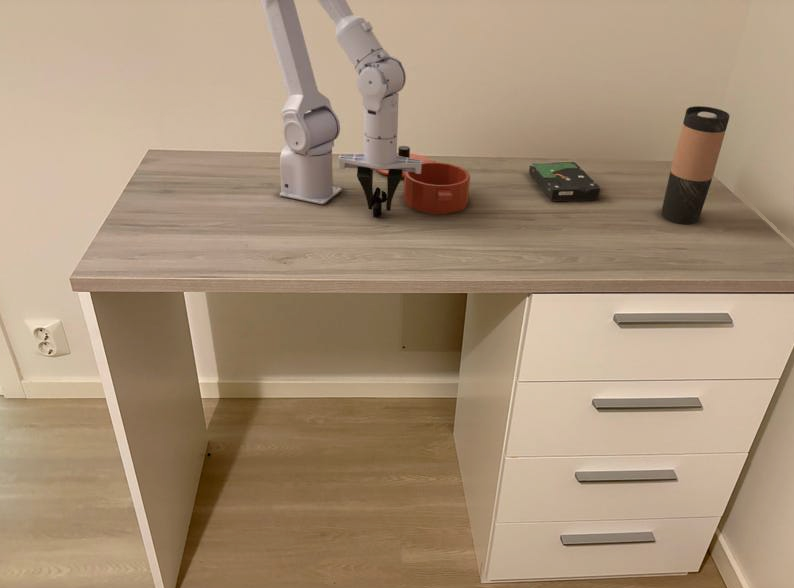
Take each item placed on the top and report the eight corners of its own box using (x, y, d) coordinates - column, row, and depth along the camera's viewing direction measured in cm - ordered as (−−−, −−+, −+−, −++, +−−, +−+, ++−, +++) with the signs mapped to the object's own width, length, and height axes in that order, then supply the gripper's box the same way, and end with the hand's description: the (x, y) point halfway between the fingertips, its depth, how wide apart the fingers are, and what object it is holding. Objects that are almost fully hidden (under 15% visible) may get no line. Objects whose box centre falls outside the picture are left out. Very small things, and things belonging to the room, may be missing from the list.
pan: (411, 220, 132) (412, 192, 129) (398, 184, 146) (399, 157, 143) (476, 219, 134) (479, 191, 131) (457, 183, 148) (459, 157, 145)
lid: (375, 180, 147) (375, 159, 144) (369, 157, 157) (369, 137, 155) (439, 180, 149) (440, 158, 146) (428, 157, 159) (430, 137, 157)
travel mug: (706, 217, 140) (737, 113, 129) (688, 228, 136) (719, 121, 124) (671, 205, 145) (698, 103, 133) (652, 215, 140) (678, 110, 128)
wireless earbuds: (372, 207, 136) (373, 181, 133) (386, 207, 136) (386, 181, 133) (372, 222, 130) (373, 196, 127) (386, 223, 130) (387, 196, 127)
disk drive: (599, 201, 145) (572, 173, 156) (602, 188, 143) (574, 160, 155) (550, 203, 142) (527, 174, 154) (552, 189, 141) (528, 161, 152)
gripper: (423, 129, 128) (420, 201, 136) (341, 124, 128) (342, 196, 135) (422, 142, 122) (418, 217, 130) (336, 137, 122) (337, 212, 130)
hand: (379, 207), depth 132 cm, fingers closed on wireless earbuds, 3 cm apart
